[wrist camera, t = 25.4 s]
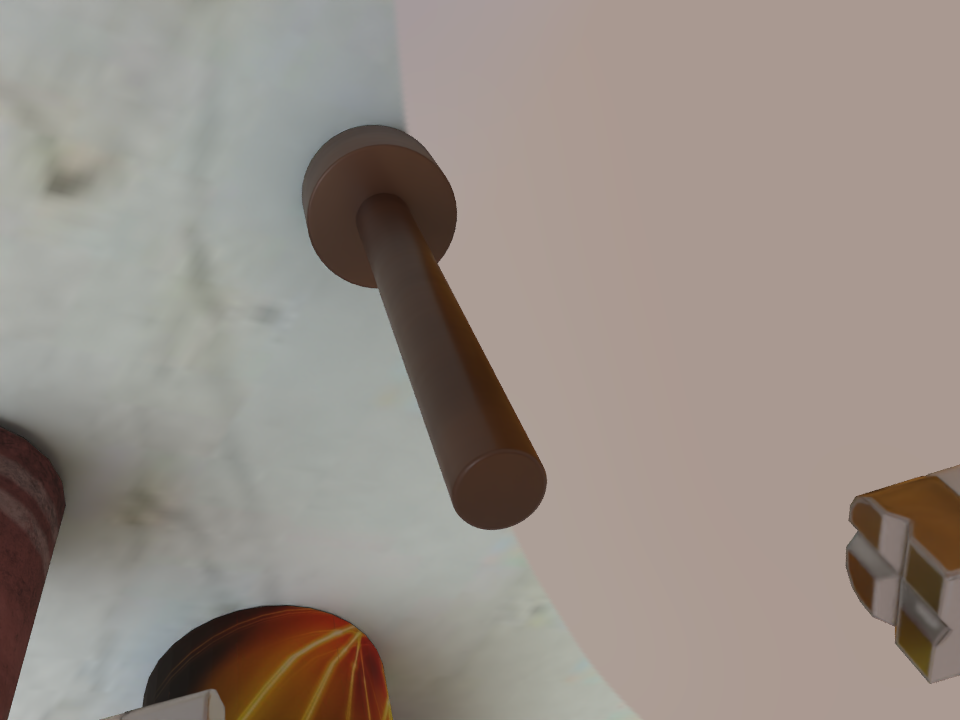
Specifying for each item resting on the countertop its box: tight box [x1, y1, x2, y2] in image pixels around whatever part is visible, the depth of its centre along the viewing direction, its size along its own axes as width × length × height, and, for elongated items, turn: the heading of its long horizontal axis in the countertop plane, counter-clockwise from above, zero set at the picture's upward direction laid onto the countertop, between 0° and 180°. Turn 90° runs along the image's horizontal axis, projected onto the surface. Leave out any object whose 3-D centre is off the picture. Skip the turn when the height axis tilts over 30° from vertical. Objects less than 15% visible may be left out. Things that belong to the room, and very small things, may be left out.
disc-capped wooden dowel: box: [302, 125, 547, 530], centre depth 21 cm, size 4×4×16 cm
